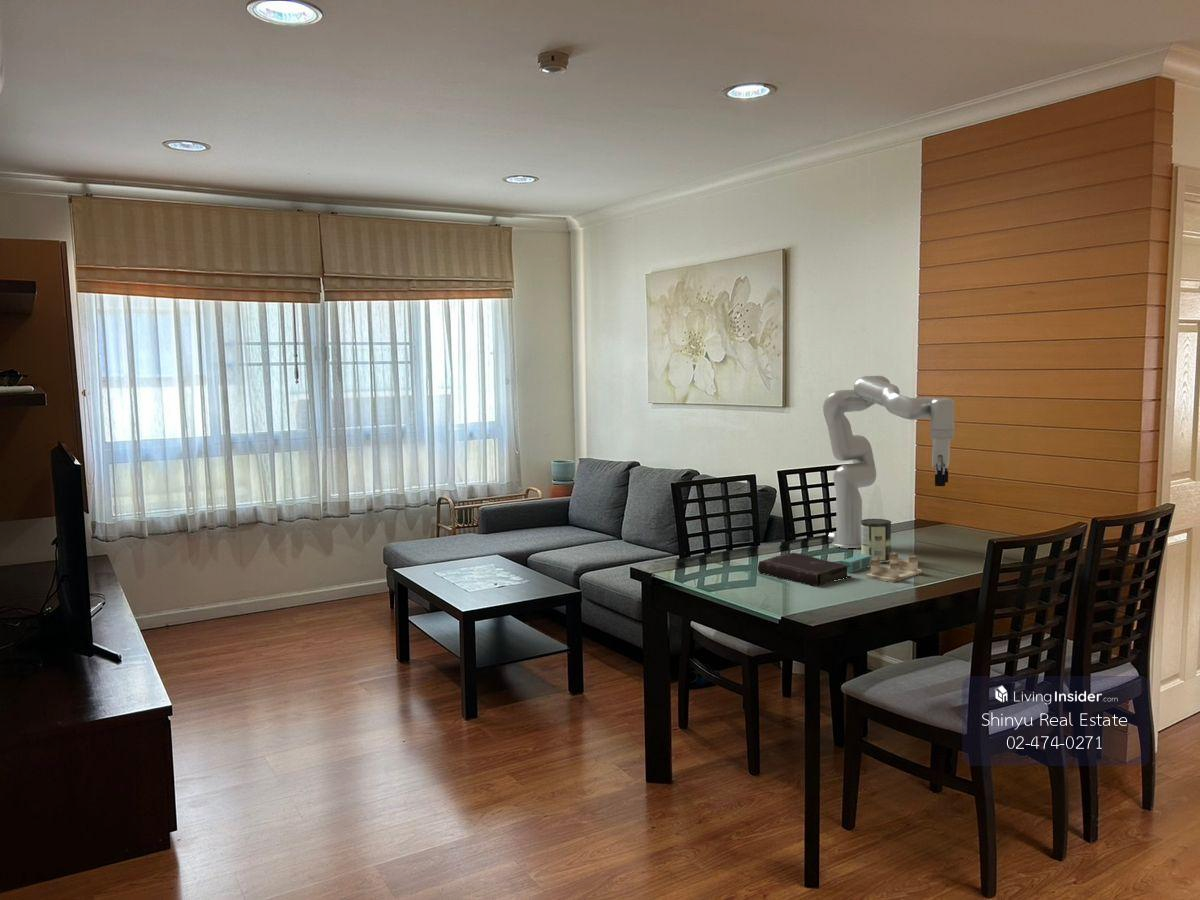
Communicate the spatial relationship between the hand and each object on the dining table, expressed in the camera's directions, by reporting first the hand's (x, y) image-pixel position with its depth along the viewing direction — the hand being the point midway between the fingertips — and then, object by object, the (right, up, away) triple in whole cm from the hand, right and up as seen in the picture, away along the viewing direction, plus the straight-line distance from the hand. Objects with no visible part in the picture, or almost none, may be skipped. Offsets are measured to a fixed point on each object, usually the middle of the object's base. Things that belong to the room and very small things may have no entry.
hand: (941, 484), depth 295 cm
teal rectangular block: (-29, -29, 0) cm, 41 cm away
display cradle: (-20, -30, -10) cm, 37 cm away
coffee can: (-19, -28, +12) cm, 36 cm away
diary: (-49, -31, -7) cm, 58 cm away
